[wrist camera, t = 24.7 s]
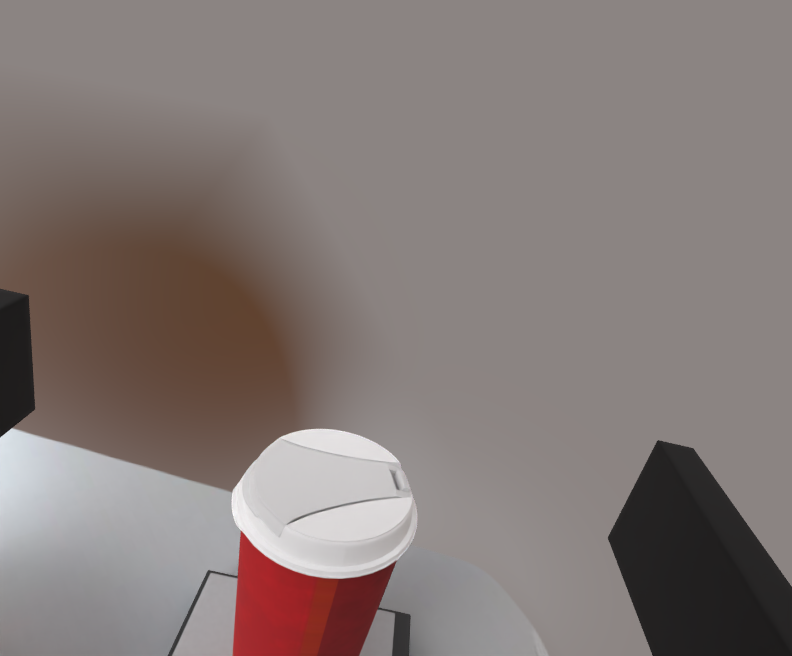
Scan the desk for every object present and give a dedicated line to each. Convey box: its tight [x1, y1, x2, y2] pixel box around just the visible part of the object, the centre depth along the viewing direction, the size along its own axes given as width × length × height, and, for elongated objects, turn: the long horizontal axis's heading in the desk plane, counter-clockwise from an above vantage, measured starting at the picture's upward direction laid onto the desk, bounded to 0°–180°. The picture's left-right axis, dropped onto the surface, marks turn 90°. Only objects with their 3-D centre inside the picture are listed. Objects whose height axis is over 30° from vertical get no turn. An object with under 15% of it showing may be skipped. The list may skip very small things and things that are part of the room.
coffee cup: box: [231, 429, 418, 656], centre depth 27 cm, size 8×8×15 cm
